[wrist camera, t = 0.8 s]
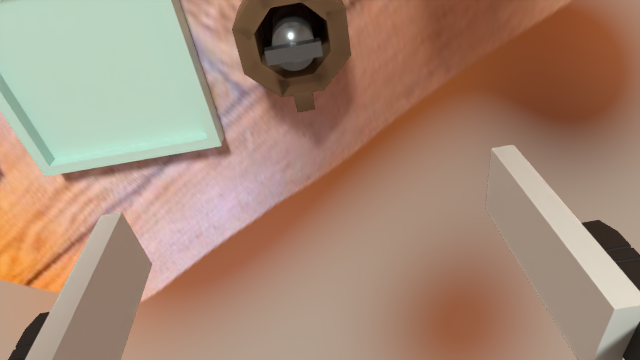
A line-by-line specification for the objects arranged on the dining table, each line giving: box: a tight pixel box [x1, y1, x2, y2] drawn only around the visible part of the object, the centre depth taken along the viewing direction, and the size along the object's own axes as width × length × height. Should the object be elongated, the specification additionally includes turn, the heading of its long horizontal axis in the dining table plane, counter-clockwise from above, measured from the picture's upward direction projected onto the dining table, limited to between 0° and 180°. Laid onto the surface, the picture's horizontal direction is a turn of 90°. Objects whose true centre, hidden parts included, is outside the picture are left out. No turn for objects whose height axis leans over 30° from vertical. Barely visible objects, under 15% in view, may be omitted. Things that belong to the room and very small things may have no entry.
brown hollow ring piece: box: [232, 0, 351, 112], centre depth 32 cm, size 11×8×6 cm
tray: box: [0, 0, 224, 177], centre depth 35 cm, size 17×17×2 cm
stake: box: [265, 2, 323, 71], centre depth 32 cm, size 3×4×8 cm
